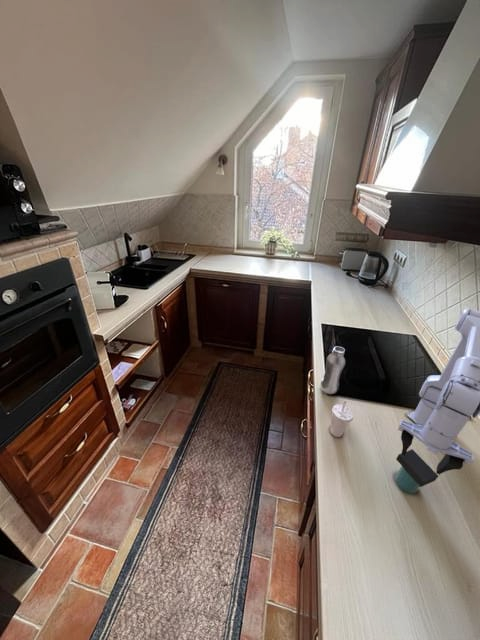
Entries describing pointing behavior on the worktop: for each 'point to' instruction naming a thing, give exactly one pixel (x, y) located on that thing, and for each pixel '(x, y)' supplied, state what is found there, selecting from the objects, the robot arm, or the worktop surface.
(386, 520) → the worktop surface
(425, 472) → the black tile
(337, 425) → the smoothie
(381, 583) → the worktop surface
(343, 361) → the plastic bottle
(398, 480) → the teal cup
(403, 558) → the worktop surface
